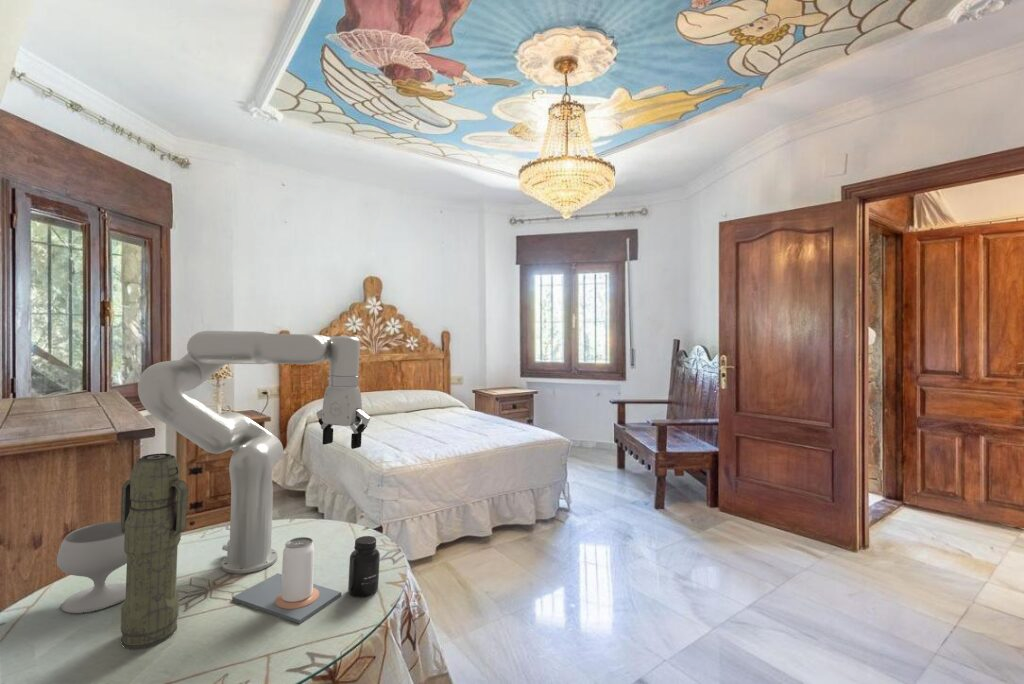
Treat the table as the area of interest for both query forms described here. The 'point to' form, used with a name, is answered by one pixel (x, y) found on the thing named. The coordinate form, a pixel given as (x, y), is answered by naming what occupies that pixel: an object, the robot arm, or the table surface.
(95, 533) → the chalice
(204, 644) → the table surface
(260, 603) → the card
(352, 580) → the supplement bottle
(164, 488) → the thermos
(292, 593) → the can
